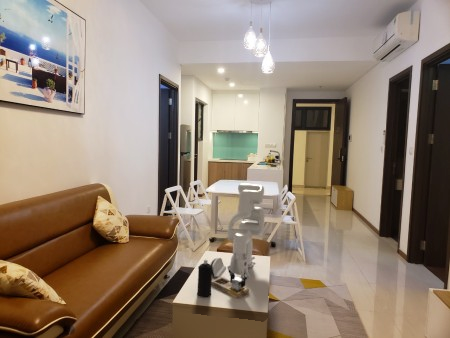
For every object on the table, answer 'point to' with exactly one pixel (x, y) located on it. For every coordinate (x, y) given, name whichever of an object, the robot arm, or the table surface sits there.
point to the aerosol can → (204, 280)
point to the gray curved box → (217, 267)
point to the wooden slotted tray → (228, 287)
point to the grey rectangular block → (236, 284)
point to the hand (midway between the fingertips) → (237, 284)
